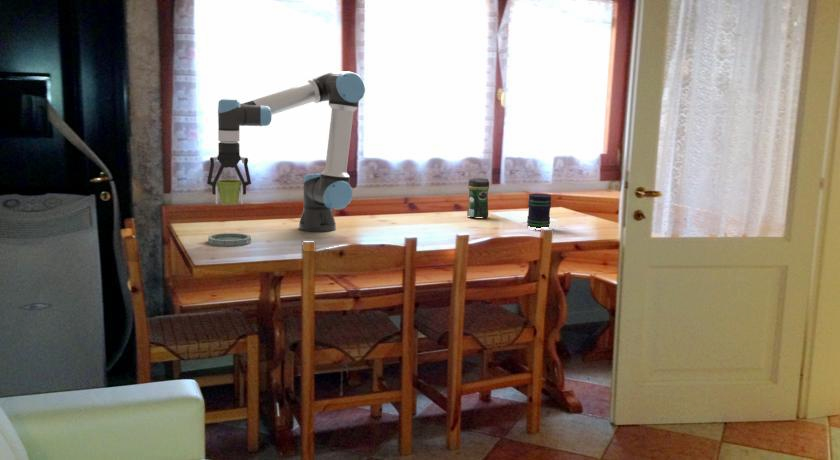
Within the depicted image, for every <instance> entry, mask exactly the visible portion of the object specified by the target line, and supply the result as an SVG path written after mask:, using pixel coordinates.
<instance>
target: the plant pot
mask: <svg viewBox="0 0 840 460" xmlns="http://www.w3.org/2000/svg"><path fill="white" fill-rule="evenodd" d="M216 185H218V192H219V193H218V194H219V198H220V204H221V205H223V206H228V205H230V206H237V205H238V204H239V198H240V192H241V186H242V182H241V180H240V179H218V181H217V183H216Z"/></svg>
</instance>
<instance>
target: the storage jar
mask: <svg viewBox="0 0 840 460" xmlns="http://www.w3.org/2000/svg"><path fill="white" fill-rule="evenodd" d="M551 206H552V195H550V194H547V193H546V194H545V193H530V194H528V205H527V207H528V215H527V220H526V225H527V227H528V226H530V227H536V228H541V227H549V228H550V223H551V221H550V220H551V217H550V213H551V211H550V210H551Z"/></svg>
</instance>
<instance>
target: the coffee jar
mask: <svg viewBox="0 0 840 460" xmlns="http://www.w3.org/2000/svg"><path fill="white" fill-rule="evenodd" d="M467 188H468V190H469V193H468V195H469V196H468V206H467V212H466V213H467V214H466V215H467V217H468V216H470V217H487V218H488V217H489V203H488V202H489V197H488V196H489V194H488V193H489V189H490V181H489V179H487V178H484V177H483V178H481V177H480V178H479V177H478V178H477V177H476V178H470V179H469V180H468V186H467Z"/></svg>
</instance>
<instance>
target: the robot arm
mask: <svg viewBox="0 0 840 460" xmlns="http://www.w3.org/2000/svg"><path fill="white" fill-rule="evenodd" d="M365 93H366V85H365V82H364V80H363V78H362V77H361V76H360V74H358V73H355V72H352V71H349V70H347V71H345V70H344V71H336V70H335V71H330V72H327V73H325V74H322V75H320V76H319V75H318V76H317V77H314V78H312V79H308V81H307V82H306V83H304V84H301V85H296V86H295V87H291V88H288V89H285V90H280V91H279V92H275V93H271V94H269V95H268V94H267V95H265V96H262V97H259V98H256V99H252V100H249V101H246V102H243V103H240V101H239V99H227V98H226V99H225V98H224V99H222V98H221V99H220V100H219V101H218V105H217V113H218V114H217V118H218V120H217V122H218V132H217V134H218V139H217V140H218V141H219V142H218V143H217V144H218V145H217V146H218V154H217V156H211V157H209V161H210V167H209V169H208V170H209V171H208V176H207V177H208V178H207V182H206V183H207V184H208V185H209V186H211V188H212V189H211V192H212V195H215V205H218V203H219V201H218V200H219V198H218V197H219V193H218V192H219V187H218V185H217V181H218V180H220V177H221V174H223V173H222V172H223V171H224V169H226V168H227V169H229V168H231V169H233V168H234V170H235V171H236V174H237V175H238V178H239V180H241V182H242V183H241V186H240V204H241V205H243V204H244V196H245V195H246V194H247V186H250V185H251V184H252V181H251V176H250V172H249V171H250V170H249V167H248V166H249V165H248V162H249V159H248V157H242V156H241V154H240V151H241V150H240V143H239V142H240V127H241V126H242V127H244V126H247V127H251V126H252V127H263V126H264V127H265V126H266V127H267V126H269V125H270V124H271V123H272V122H271V121H272V119H273V118H272V115H275V114H278V113H282V112H285V111H288V110H291V109H294V108H297V107H300V106H304V105H307V104H310V103H315V104H319V103H321V102H328V106H329V107H330V109H331V114H330V122H329V123H330V124H329V133H328V139H327V140H328V141H327V142H328V143H327V150H326V159H325V167H324V170H323V171H322V172H320V173H307V174H305V175H304V177H303V183H302V184H303V211H302V214H301V216H300V220H299V223H298V227H299V228H298V229H299V230H301V231H306V232H331V231H335V230H336V228H337V224H336V219H335V217H334V216H335V215H334V214H333V210H342V209H344V208H346V207H347V206H348V205H350V203H351V202H352V199H353V194H354V191H353V188H352V186H351V184H350V178H351V176H350V174H349V173H348V170H347V169H348V164H349V163H348V162H349V154H350V144H351V139H352V137H351V135H352V128H353V119H354V113H355V111H356V110H358V108H359V102H360V101H361V100H362V99H363V98H364V95H365ZM217 161H218V162H219V163H220V167H219V168H218V170H217V172H216V175H215V177H214V179H213V180H212V177H213V174H214V167H215V164H216V163H217ZM240 162H242V164H243V167H244V171H245V177H246V181H245V178H244V177H243V174H242V172H241V170H240V168H239V166H238V164H239V163H240Z"/></svg>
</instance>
